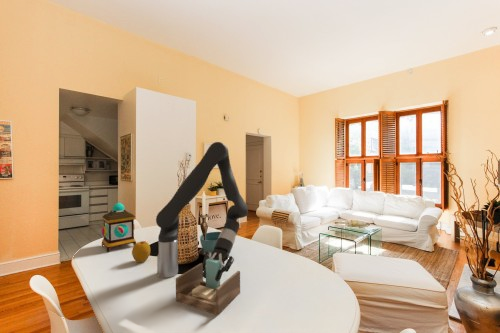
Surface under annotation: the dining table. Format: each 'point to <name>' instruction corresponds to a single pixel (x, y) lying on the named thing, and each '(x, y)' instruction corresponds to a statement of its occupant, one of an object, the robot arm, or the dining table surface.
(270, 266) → the dining table surface
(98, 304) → the dining table surface
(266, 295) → the dining table surface
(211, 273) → the teal board
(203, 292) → the offcut stack
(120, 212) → the decorative lantern
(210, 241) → the plant pot
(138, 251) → the apple
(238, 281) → the walnut rack
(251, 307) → the dining table surface
